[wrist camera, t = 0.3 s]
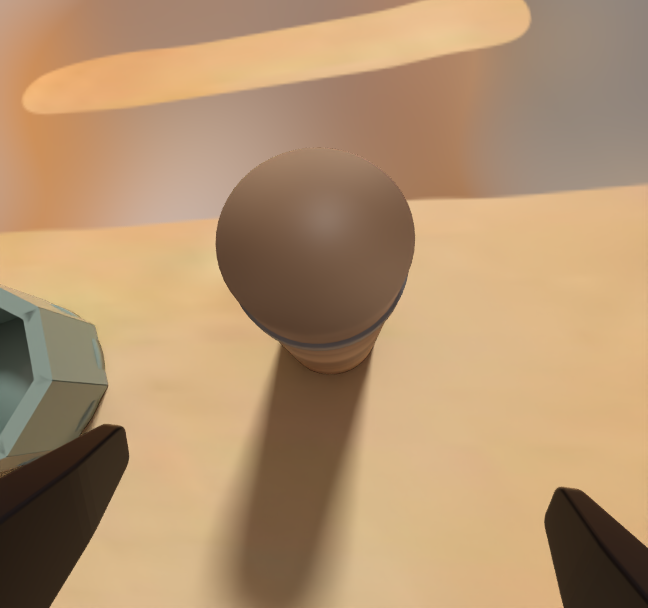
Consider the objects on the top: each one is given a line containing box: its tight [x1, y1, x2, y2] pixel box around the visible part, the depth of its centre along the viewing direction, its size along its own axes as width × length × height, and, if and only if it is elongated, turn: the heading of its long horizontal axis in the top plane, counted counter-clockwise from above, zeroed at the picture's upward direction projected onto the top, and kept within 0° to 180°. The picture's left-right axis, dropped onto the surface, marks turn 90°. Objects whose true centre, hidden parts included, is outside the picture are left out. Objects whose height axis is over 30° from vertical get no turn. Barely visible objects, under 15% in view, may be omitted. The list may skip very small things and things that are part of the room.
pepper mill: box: [216, 147, 415, 374], centre depth 17 cm, size 5×5×13 cm
